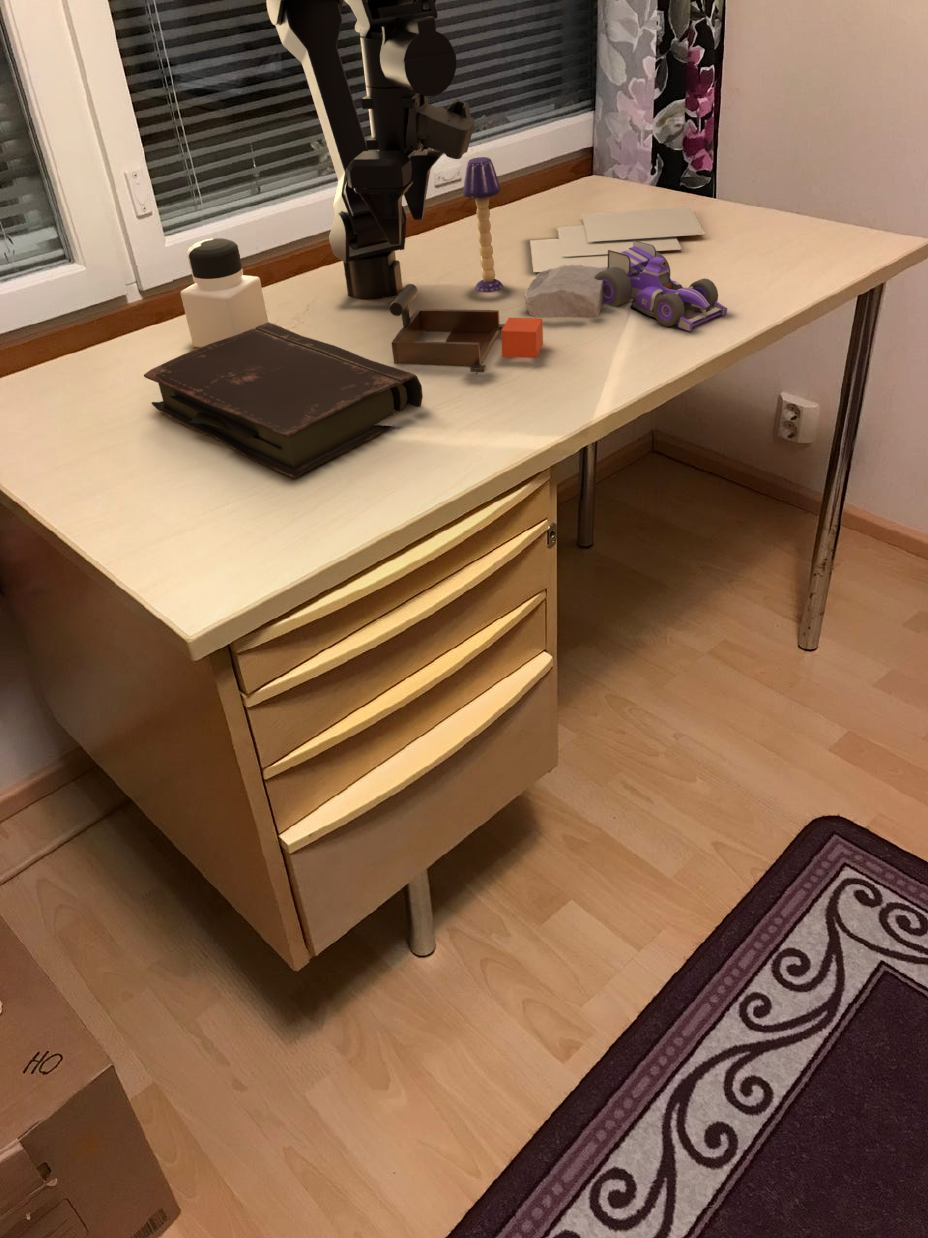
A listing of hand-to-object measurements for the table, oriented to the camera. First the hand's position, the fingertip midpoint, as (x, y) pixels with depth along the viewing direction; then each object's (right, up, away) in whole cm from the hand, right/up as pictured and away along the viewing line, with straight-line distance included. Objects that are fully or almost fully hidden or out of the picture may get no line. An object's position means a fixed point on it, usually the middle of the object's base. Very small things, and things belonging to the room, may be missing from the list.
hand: (407, 231), depth 117 cm
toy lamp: (+10, -2, +16) cm, 19 cm away
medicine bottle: (-23, -10, +9) cm, 26 cm away
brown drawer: (+5, -14, +1) cm, 15 cm away
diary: (-13, -23, -9) cm, 28 cm away
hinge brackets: (+10, -15, -1) cm, 18 cm away
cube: (+13, -12, -4) cm, 18 cm away
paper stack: (+29, +10, +29) cm, 42 cm away
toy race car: (+31, -7, +7) cm, 33 cm away
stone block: (+20, -6, +10) cm, 23 cm away
